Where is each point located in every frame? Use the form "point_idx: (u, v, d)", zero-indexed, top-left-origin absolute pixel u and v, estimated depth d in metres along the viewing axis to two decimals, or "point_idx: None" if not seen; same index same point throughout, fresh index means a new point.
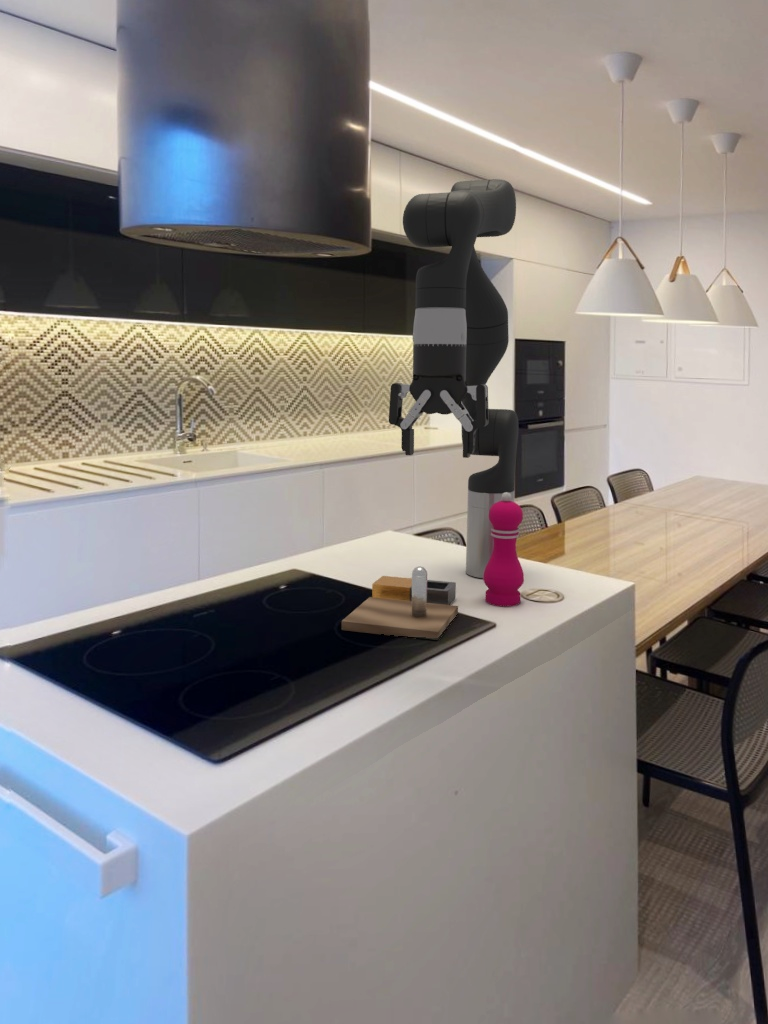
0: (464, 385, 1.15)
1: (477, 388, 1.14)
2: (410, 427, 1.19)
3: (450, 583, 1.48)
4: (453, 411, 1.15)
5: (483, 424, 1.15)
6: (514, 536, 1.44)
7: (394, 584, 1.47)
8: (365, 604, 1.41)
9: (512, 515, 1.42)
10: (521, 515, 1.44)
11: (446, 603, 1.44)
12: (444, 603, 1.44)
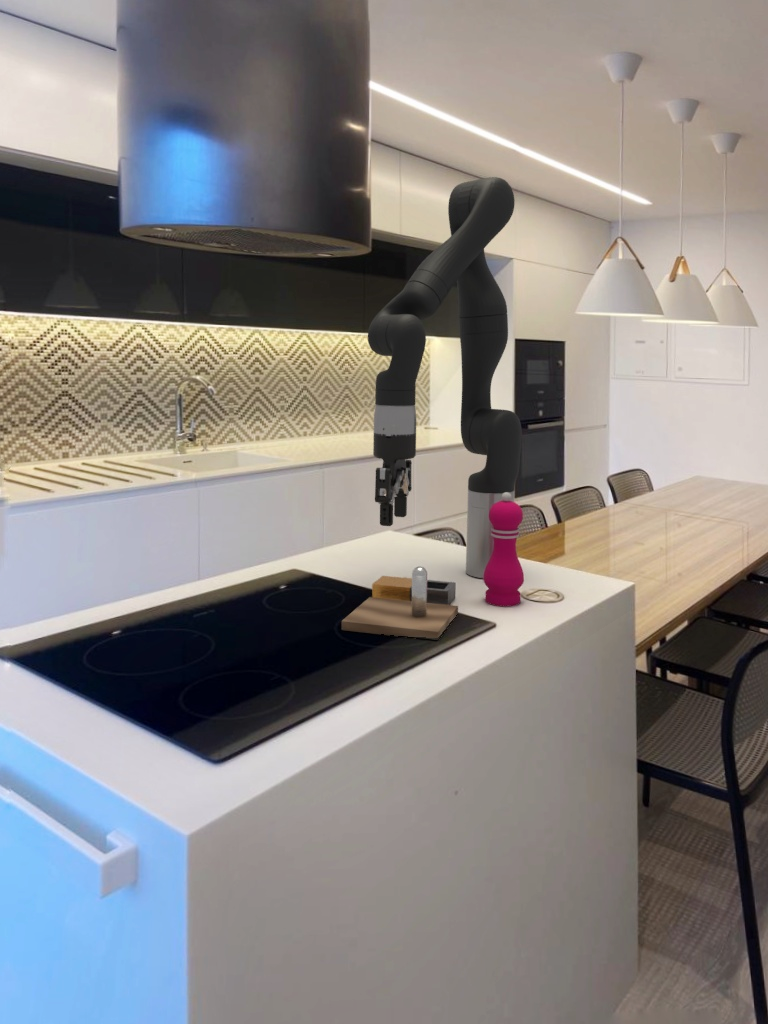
0: None
1: (410, 463, 1.51)
2: None
3: (450, 583, 1.48)
4: (407, 483, 1.48)
5: (410, 489, 1.53)
6: (514, 536, 1.44)
7: (394, 584, 1.47)
8: (365, 604, 1.41)
9: (512, 515, 1.42)
10: (521, 515, 1.44)
11: (446, 603, 1.44)
12: (444, 603, 1.44)
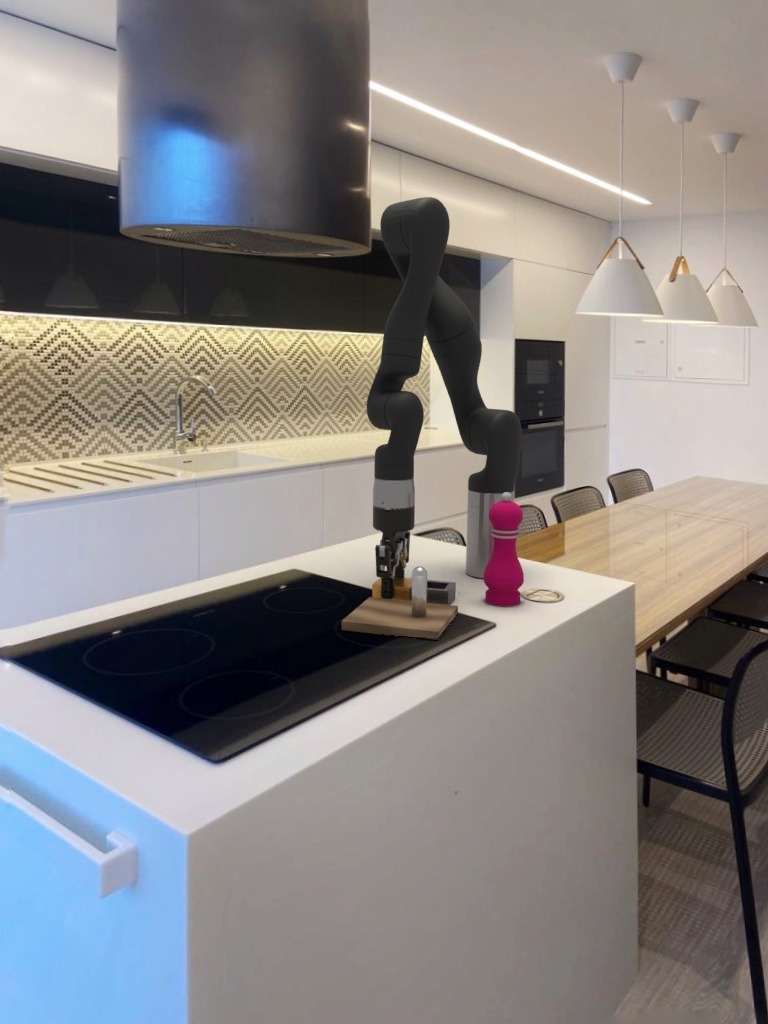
0: (404, 532, 1.51)
1: (408, 534, 1.53)
2: None
3: (450, 583, 1.48)
4: (405, 554, 1.50)
5: None
6: (514, 536, 1.44)
7: (394, 584, 1.47)
8: (365, 604, 1.41)
9: (512, 515, 1.42)
10: (521, 515, 1.44)
11: (446, 603, 1.44)
12: (444, 603, 1.44)
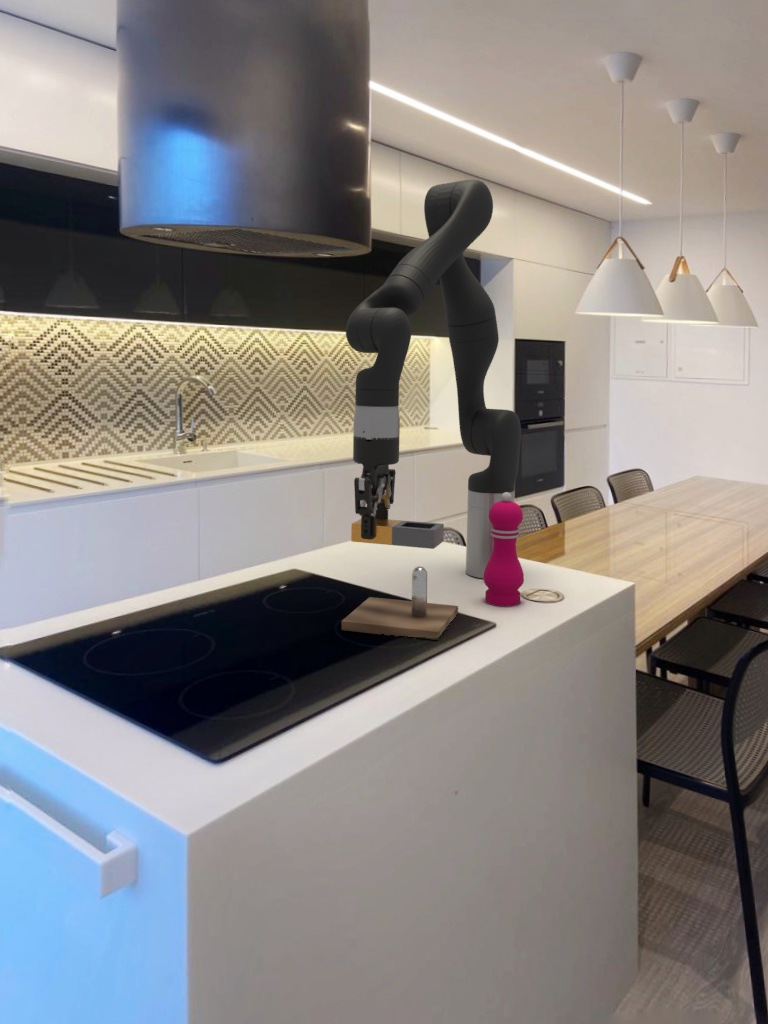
0: None
1: (393, 472, 1.40)
2: None
3: (437, 524, 1.35)
4: (389, 492, 1.37)
5: (393, 501, 1.41)
6: (514, 536, 1.44)
7: (375, 524, 1.34)
8: (365, 604, 1.41)
9: (512, 515, 1.42)
10: (521, 515, 1.44)
11: (432, 543, 1.30)
12: (430, 544, 1.30)
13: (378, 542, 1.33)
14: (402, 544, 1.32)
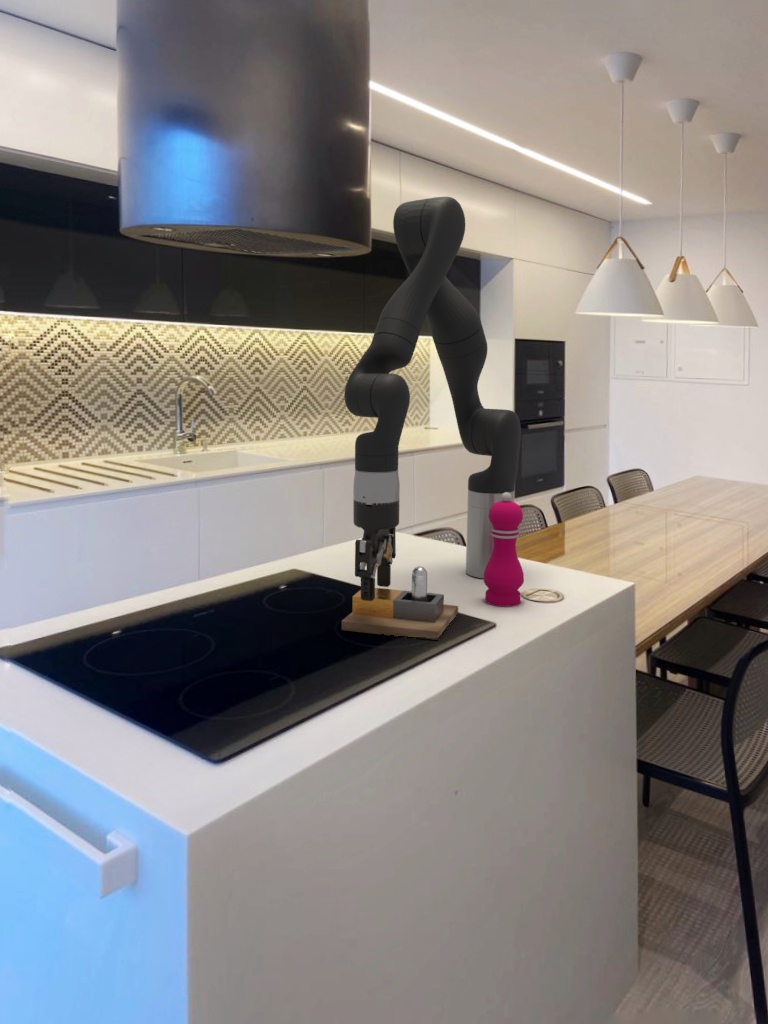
0: None
1: (393, 528, 1.40)
2: None
3: (438, 595, 1.36)
4: (390, 551, 1.38)
5: (395, 555, 1.42)
6: (514, 536, 1.44)
7: (376, 597, 1.35)
8: None
9: (512, 515, 1.42)
10: (521, 515, 1.44)
11: (433, 617, 1.31)
12: (431, 617, 1.32)
13: (379, 615, 1.34)
14: (403, 617, 1.33)
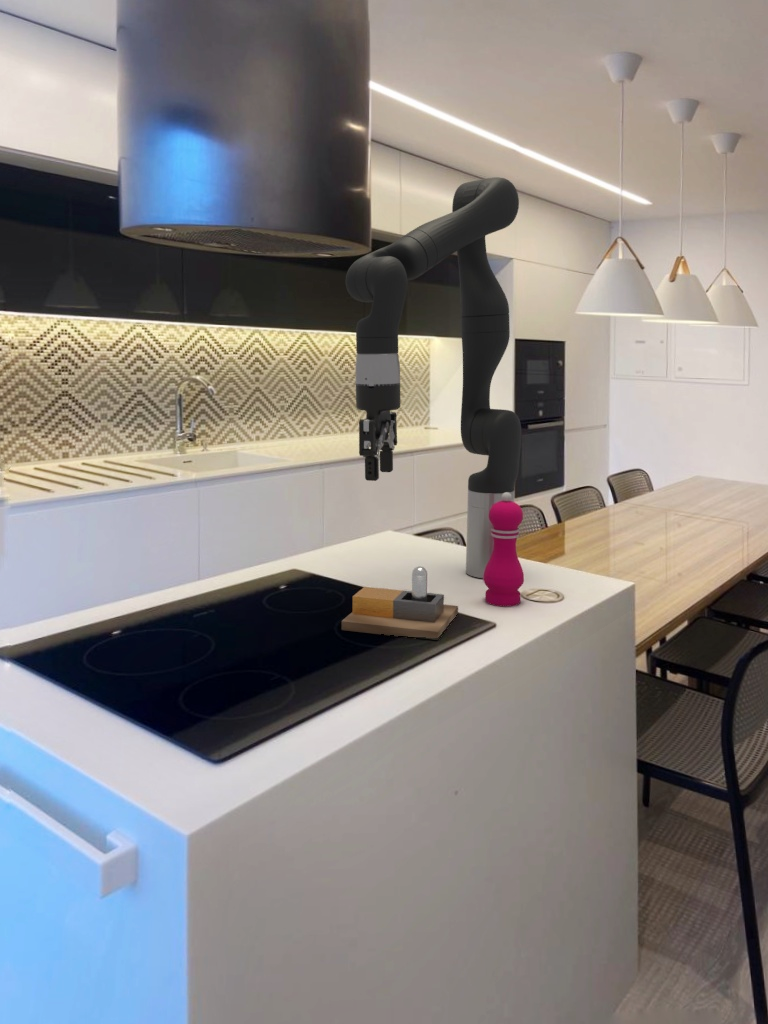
0: (389, 414, 1.43)
1: (394, 415, 1.44)
2: None
3: (438, 595, 1.36)
4: (392, 436, 1.42)
5: (396, 442, 1.46)
6: (514, 536, 1.44)
7: (376, 597, 1.35)
8: None
9: (512, 515, 1.42)
10: (521, 515, 1.44)
11: (433, 617, 1.31)
12: (431, 617, 1.32)
13: (379, 615, 1.34)
14: (403, 617, 1.33)
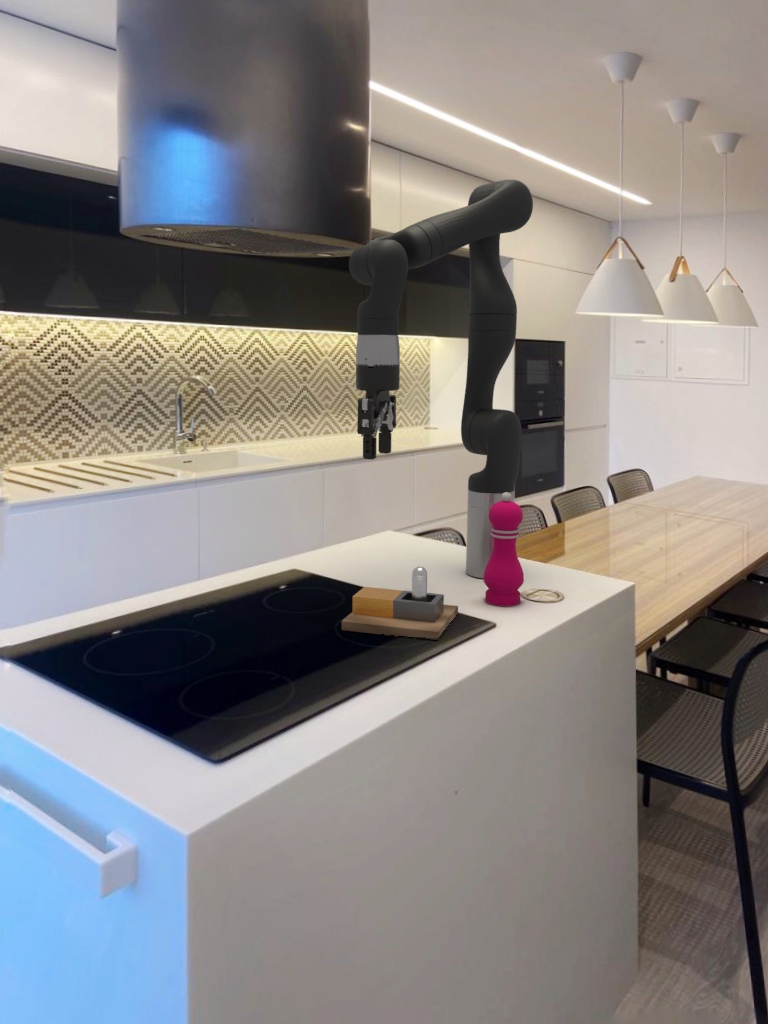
0: None
1: (394, 398, 1.47)
2: None
3: (438, 595, 1.36)
4: (391, 417, 1.45)
5: (395, 425, 1.49)
6: (514, 536, 1.44)
7: (376, 597, 1.35)
8: None
9: (512, 515, 1.42)
10: (521, 515, 1.44)
11: (433, 617, 1.31)
12: (431, 617, 1.32)
13: (379, 615, 1.34)
14: (403, 617, 1.33)
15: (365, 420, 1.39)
